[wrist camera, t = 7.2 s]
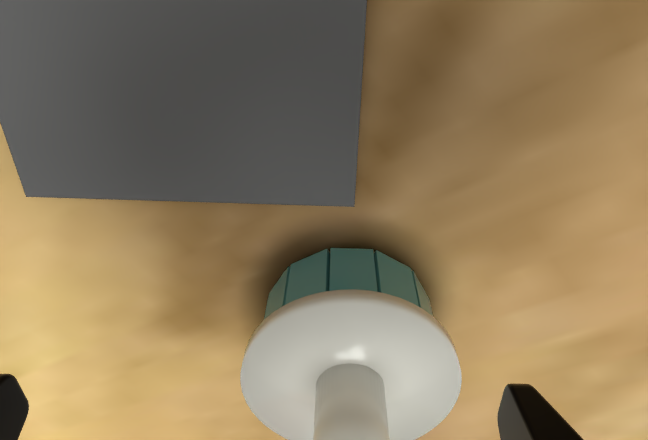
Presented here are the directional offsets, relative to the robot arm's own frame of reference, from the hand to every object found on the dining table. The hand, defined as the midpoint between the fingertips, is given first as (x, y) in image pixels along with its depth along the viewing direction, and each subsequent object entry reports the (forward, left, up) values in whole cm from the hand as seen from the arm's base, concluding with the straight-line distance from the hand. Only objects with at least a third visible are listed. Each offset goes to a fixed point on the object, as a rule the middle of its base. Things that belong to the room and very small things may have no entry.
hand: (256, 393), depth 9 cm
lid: (-2, +9, -8) cm, 12 cm away
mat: (+5, -2, -12) cm, 13 cm away
